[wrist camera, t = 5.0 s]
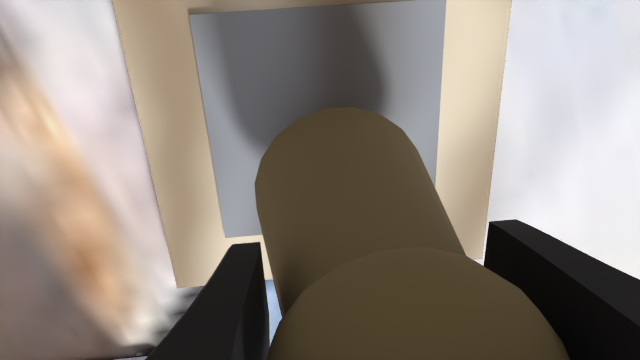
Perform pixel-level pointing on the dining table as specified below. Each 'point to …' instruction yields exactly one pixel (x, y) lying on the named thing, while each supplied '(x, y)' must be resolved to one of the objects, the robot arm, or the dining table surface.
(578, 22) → the dining table surface
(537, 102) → the dining table surface
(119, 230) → the dining table surface
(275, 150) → the cork
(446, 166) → the base board
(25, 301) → the dining table surface
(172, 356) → the robot arm
